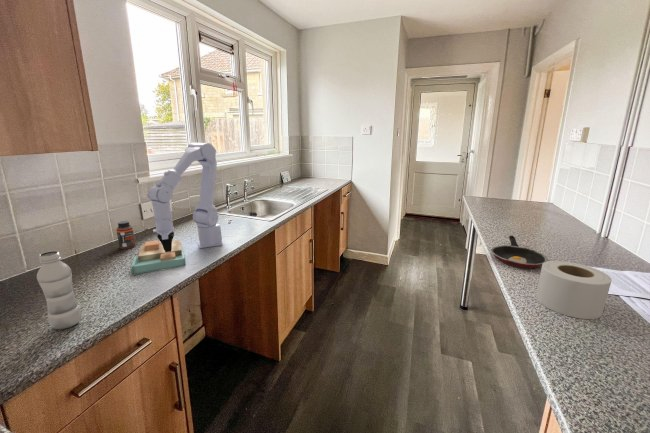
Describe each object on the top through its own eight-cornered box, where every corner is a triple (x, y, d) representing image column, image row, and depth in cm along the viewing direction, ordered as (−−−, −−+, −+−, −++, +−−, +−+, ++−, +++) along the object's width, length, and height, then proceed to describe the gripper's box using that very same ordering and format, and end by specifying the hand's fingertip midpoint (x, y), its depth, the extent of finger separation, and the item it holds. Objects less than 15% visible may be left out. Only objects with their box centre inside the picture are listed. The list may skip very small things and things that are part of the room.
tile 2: (175, 256, 120) (175, 251, 120) (175, 261, 116) (175, 256, 115) (161, 258, 118) (160, 254, 118) (161, 263, 114) (160, 258, 113)
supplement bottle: (128, 249, 128) (123, 224, 125) (116, 248, 130) (111, 223, 126) (139, 245, 134) (134, 220, 131) (127, 244, 135) (123, 219, 132)
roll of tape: (528, 287, 98) (535, 257, 95) (586, 295, 94) (594, 263, 91) (545, 314, 84) (554, 279, 81) (614, 324, 79) (625, 288, 77)
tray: (184, 255, 122) (183, 248, 122) (185, 265, 113) (184, 258, 113) (135, 263, 115) (134, 256, 114) (132, 274, 106) (131, 266, 105)
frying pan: (491, 266, 114) (492, 257, 113) (486, 239, 142) (488, 232, 141) (551, 276, 106) (553, 266, 105) (534, 246, 134) (536, 238, 133)
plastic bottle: (63, 318, 81) (44, 249, 76) (89, 317, 82) (73, 248, 77) (43, 333, 75) (22, 259, 70) (72, 332, 76) (53, 258, 70)
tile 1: (159, 244, 127) (159, 240, 127) (159, 248, 123) (158, 244, 123) (146, 246, 125) (145, 242, 125) (145, 250, 121) (144, 246, 120)
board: (181, 245, 134) (180, 239, 133) (181, 255, 122) (181, 250, 122) (142, 250, 127) (141, 245, 127) (139, 262, 116) (138, 256, 115)
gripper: (152, 214, 119) (157, 246, 122) (149, 224, 106) (155, 259, 110) (172, 212, 122) (176, 243, 125) (172, 221, 109) (177, 256, 113)
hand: (168, 251), depth 118 cm, fingers closed
